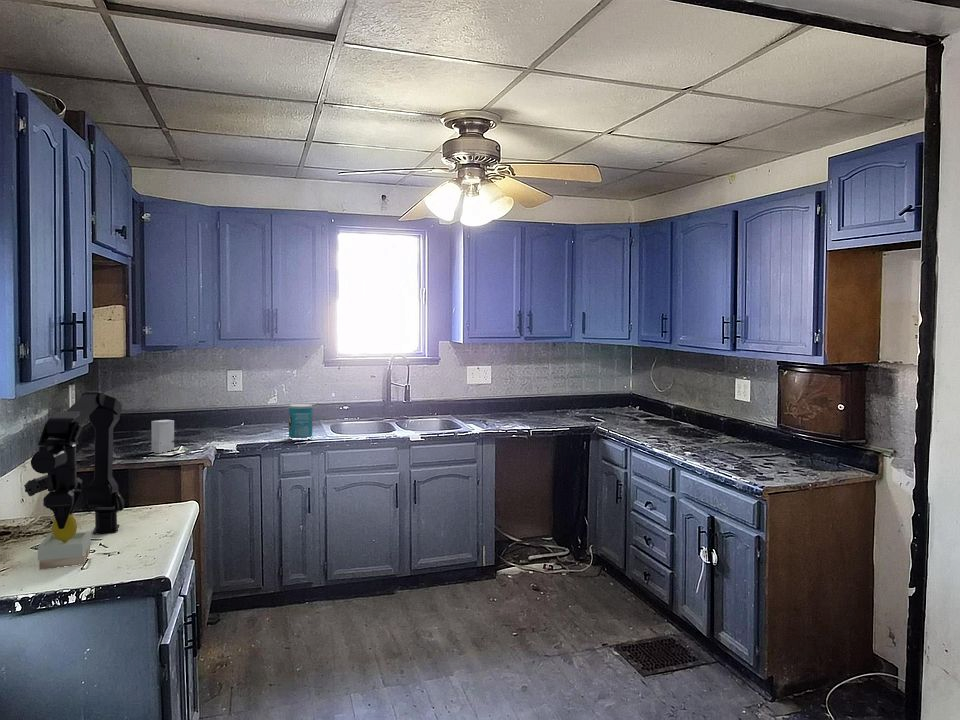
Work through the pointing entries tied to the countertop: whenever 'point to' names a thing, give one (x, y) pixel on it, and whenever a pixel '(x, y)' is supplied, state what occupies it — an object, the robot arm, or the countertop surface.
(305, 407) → the food can
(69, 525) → the lemon
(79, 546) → the dish block
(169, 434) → the skincare box
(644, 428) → the countertop surface
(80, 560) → the base block
